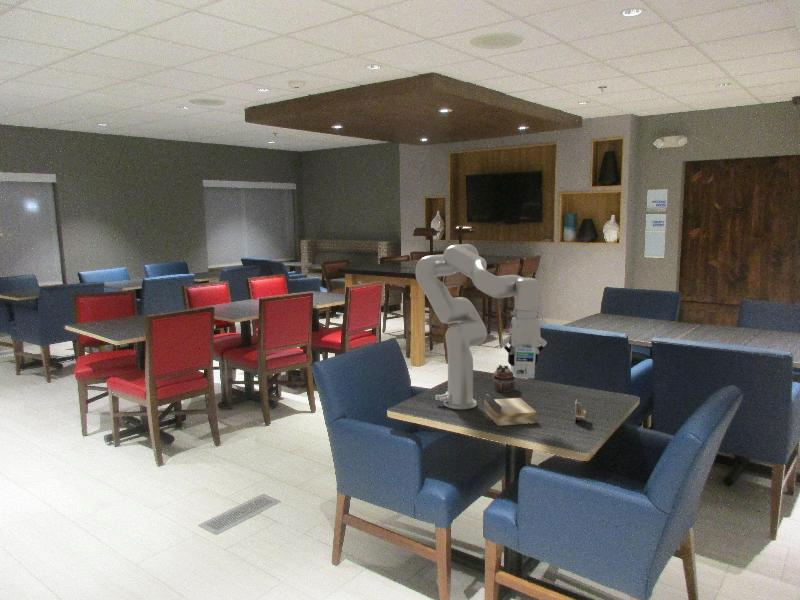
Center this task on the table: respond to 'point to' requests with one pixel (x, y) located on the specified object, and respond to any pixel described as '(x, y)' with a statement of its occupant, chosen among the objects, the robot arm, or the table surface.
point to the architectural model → (579, 411)
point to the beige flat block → (509, 411)
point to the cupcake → (503, 379)
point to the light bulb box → (524, 362)
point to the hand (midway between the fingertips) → (522, 364)
